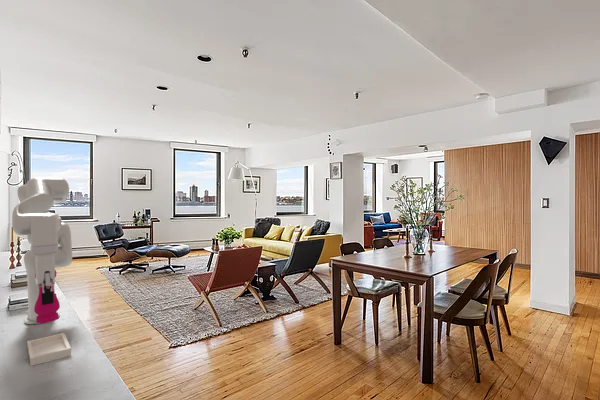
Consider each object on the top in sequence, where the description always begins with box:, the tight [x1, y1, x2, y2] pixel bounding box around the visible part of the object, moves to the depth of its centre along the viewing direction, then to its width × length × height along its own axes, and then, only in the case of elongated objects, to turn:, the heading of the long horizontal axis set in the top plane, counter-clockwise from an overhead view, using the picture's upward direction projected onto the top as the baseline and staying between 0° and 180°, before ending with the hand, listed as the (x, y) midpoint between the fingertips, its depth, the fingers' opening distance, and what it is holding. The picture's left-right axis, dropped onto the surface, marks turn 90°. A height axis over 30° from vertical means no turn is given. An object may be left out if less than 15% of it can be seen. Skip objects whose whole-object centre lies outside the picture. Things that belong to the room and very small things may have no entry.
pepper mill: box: [34, 269, 61, 324], centre depth 122 cm, size 7×7×20 cm
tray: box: [26, 332, 72, 367], centre depth 123 cm, size 18×11×2 cm, turn 40°
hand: (46, 301), depth 122 cm, fingers closed on pepper mill, 5 cm apart
